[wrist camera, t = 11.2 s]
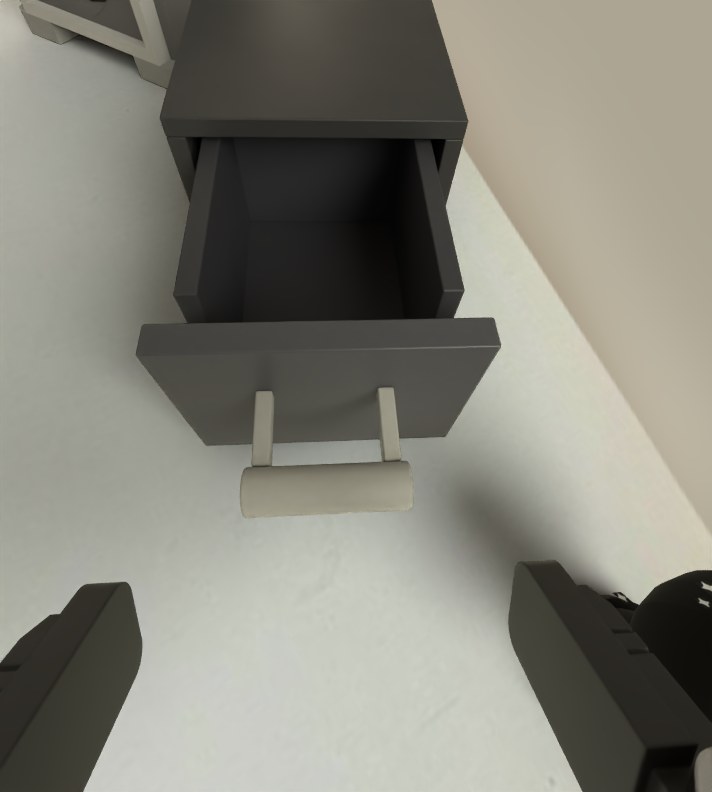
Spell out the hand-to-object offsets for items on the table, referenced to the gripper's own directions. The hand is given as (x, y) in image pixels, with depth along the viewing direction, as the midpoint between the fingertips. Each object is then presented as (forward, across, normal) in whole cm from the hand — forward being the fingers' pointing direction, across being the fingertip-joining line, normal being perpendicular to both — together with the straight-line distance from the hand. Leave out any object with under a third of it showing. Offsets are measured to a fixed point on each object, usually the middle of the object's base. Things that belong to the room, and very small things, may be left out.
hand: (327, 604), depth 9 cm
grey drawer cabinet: (+25, 0, -11) cm, 27 cm away
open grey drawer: (+15, 0, -2) cm, 15 cm away
